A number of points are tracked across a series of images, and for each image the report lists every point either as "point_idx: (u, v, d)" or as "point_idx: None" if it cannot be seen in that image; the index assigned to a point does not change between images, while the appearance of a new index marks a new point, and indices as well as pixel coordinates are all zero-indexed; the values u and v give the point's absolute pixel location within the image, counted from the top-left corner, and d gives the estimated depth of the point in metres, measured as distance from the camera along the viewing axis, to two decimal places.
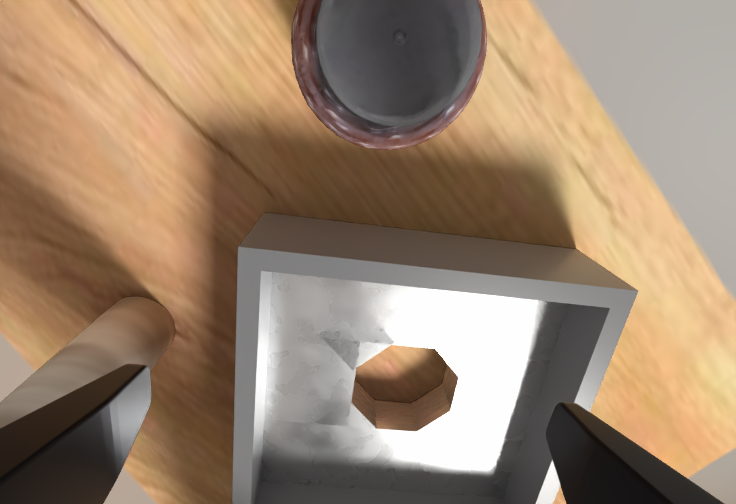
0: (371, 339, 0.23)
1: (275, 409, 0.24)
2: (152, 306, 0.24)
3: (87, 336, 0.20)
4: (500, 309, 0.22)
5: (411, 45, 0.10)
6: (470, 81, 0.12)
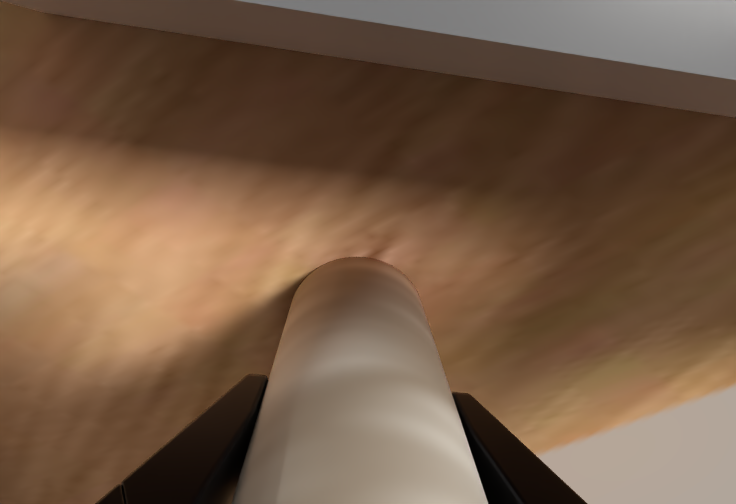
0: None
1: None
2: (299, 291, 0.11)
3: None
4: None
5: None
6: None
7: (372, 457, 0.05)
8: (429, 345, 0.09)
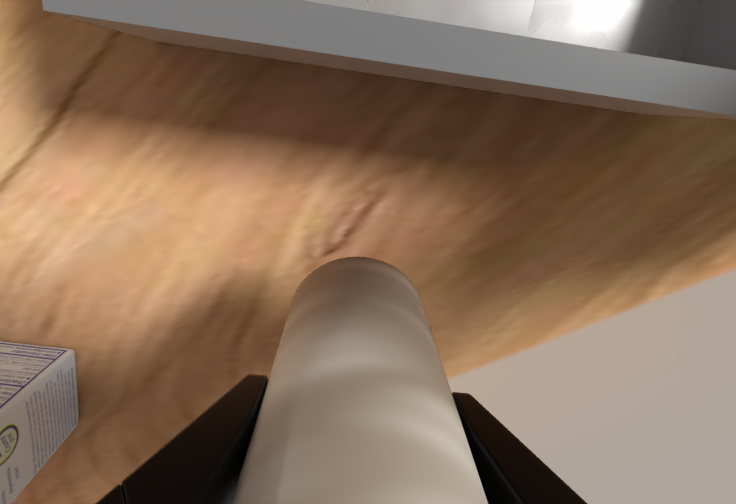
0: None
1: (500, 28, 0.12)
2: (299, 291, 0.11)
3: None
4: None
5: None
6: None
7: (372, 457, 0.05)
8: (429, 345, 0.09)
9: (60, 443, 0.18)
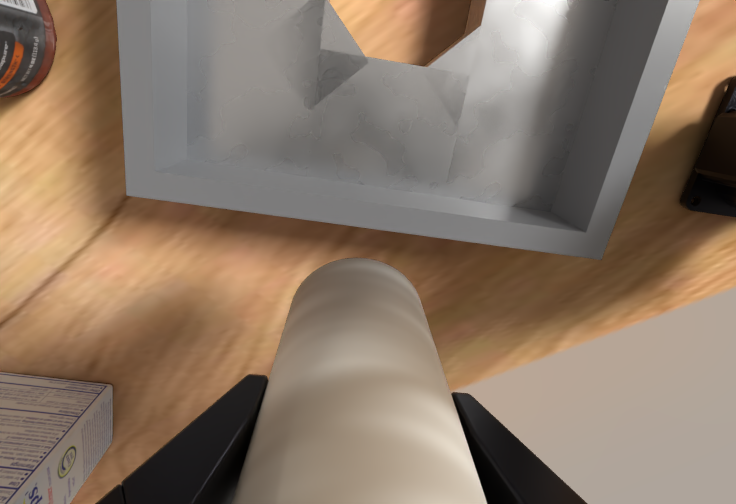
0: (315, 30, 0.16)
1: (427, 179, 0.18)
2: (299, 292, 0.11)
3: None
4: None
5: None
6: None
7: (372, 459, 0.05)
8: (429, 346, 0.09)
9: (100, 457, 0.24)
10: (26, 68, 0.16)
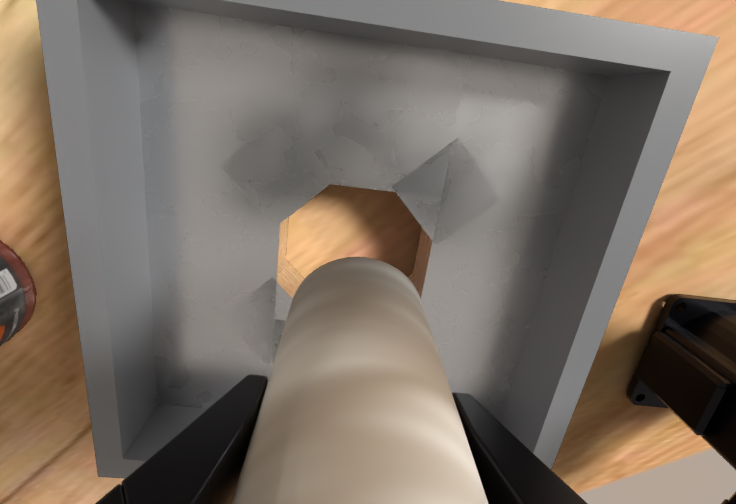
0: (269, 306, 0.17)
1: None
2: (299, 291, 0.11)
3: None
4: (204, 131, 0.14)
5: None
6: None
7: (372, 458, 0.05)
8: (429, 345, 0.09)
9: None
10: (8, 334, 0.18)
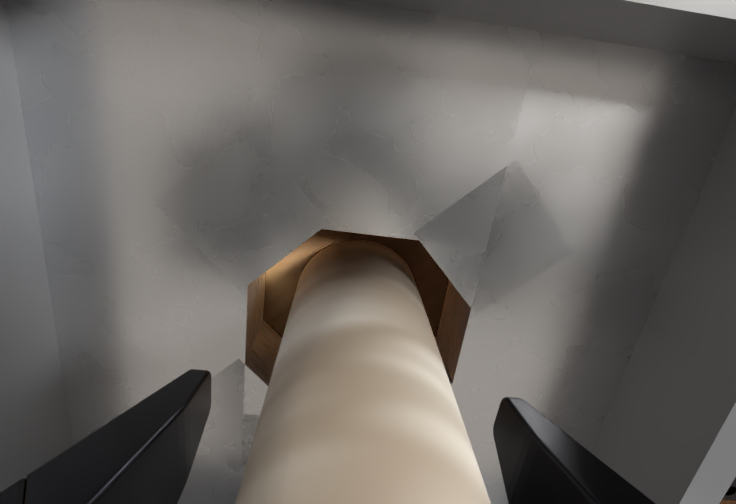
0: (236, 397, 0.12)
1: None
2: (305, 270, 0.13)
3: None
4: (126, 151, 0.09)
5: None
6: None
7: (371, 383, 0.07)
8: (420, 311, 0.10)
9: None
10: None
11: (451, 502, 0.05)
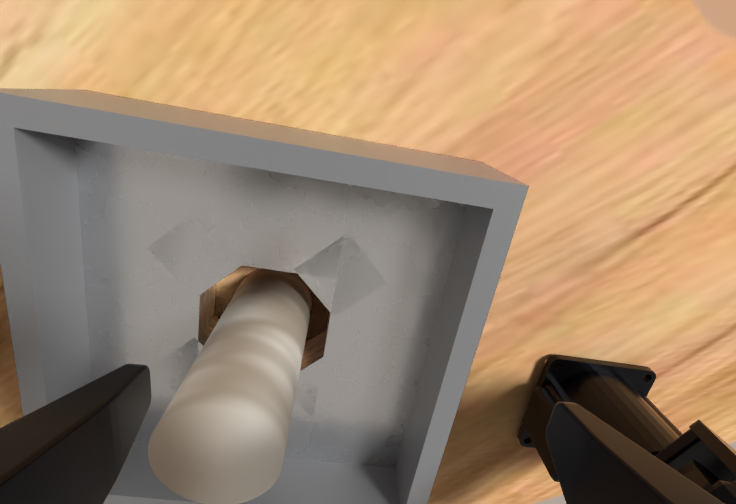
0: (192, 360, 0.20)
1: (292, 449, 0.22)
2: (239, 285, 0.21)
3: None
4: (133, 220, 0.17)
5: None
6: None
7: (242, 344, 0.15)
8: (294, 313, 0.18)
9: None
10: None
11: (256, 386, 0.13)
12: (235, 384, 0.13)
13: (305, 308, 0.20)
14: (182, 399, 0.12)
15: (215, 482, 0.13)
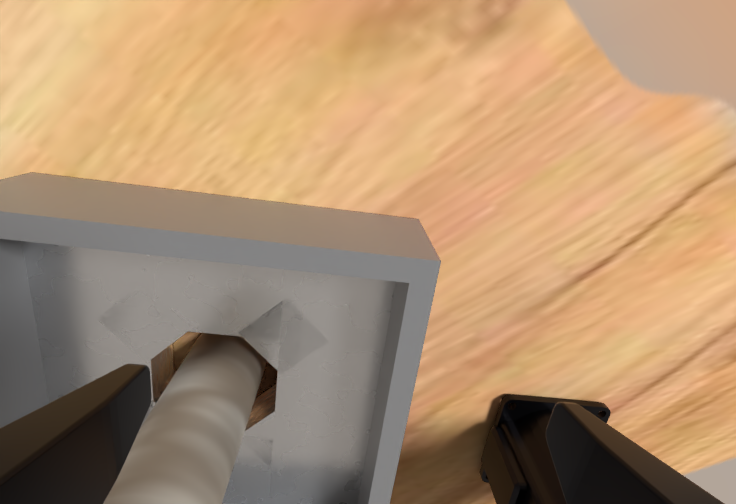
0: None
1: (254, 496, 0.23)
2: (194, 343, 0.22)
3: None
4: (81, 296, 0.18)
5: None
6: None
7: (177, 420, 0.15)
8: (240, 375, 0.19)
9: None
10: None
11: (182, 467, 0.14)
12: (161, 468, 0.13)
13: (255, 366, 0.21)
14: None
15: None
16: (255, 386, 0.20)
